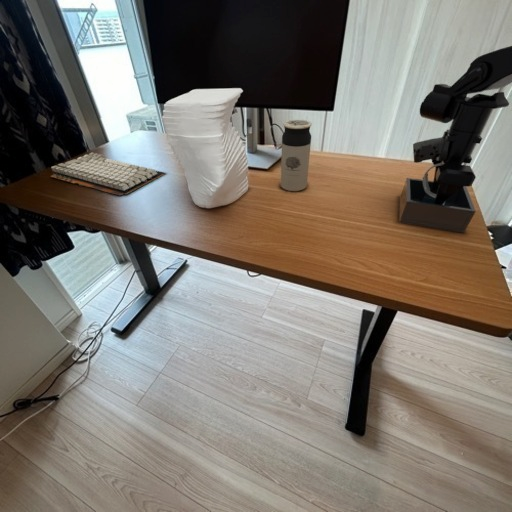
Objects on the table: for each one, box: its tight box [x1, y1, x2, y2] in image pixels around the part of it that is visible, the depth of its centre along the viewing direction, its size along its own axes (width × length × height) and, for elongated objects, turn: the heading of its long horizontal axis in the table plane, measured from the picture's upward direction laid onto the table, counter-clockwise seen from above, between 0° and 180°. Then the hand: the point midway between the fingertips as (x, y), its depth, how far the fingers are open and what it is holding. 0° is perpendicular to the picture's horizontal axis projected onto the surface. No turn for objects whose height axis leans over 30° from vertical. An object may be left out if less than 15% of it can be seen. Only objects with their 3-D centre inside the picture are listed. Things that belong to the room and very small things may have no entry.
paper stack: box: [161, 87, 250, 209], centre depth 72 cm, size 21×27×26 cm
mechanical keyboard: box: [50, 151, 167, 196], centre depth 93 cm, size 38×19×3 cm, turn 63°
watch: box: [422, 163, 446, 205], centre depth 65 cm, size 6×8×11 cm
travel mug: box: [280, 119, 313, 192], centre depth 77 cm, size 8×8×18 cm
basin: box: [399, 177, 477, 234], centre depth 67 cm, size 14×14×6 cm
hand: (435, 196), depth 66 cm, fingers open, 7 cm apart
